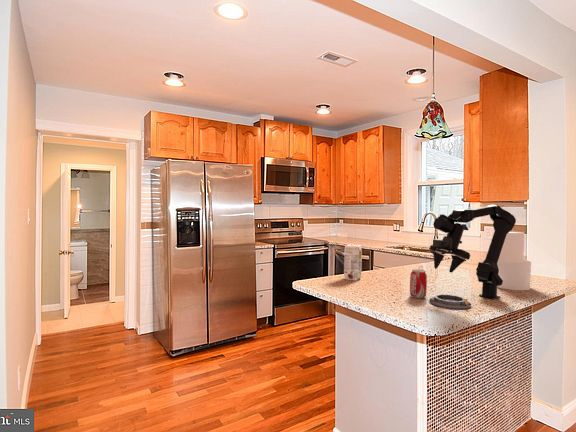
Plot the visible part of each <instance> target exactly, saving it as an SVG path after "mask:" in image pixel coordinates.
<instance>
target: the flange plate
mask: <svg viewBox="0 0 576 432" xmlns="http://www.w3.org/2000/svg"><path fill="white" fill-rule="evenodd" d="M468 299H469V298H466V297H462V296H459V295H455V294H445V293H444V294H440V293H439V294H434V296H433V297H430V298H429V300H428V301H429V303H430V304H431V305H433V306H435V307H438V308H442V309H447V310H467V309H471V308H472V303H471V301H468Z"/></svg>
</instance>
